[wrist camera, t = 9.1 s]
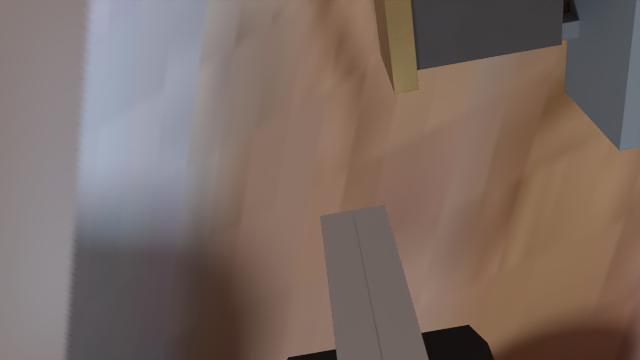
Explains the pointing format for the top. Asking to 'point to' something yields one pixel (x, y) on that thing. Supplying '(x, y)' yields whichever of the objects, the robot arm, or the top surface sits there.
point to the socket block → (605, 65)
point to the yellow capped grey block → (460, 32)
